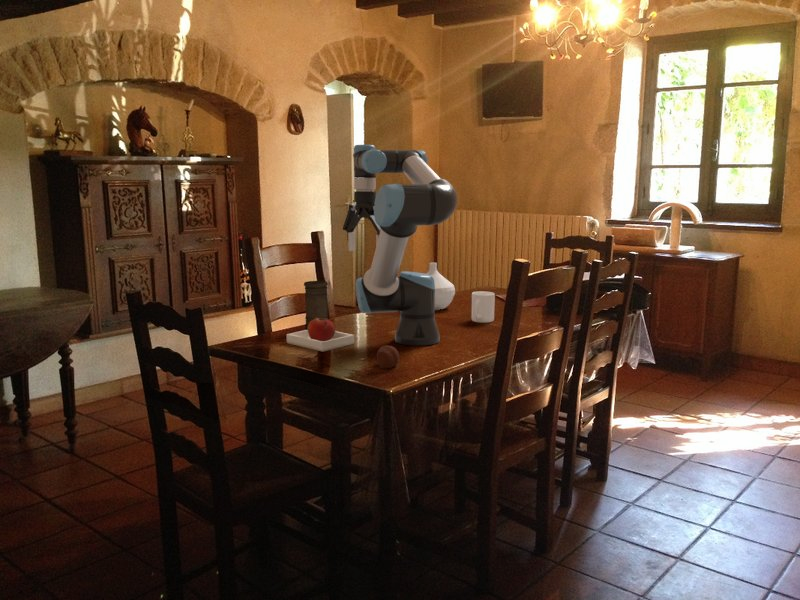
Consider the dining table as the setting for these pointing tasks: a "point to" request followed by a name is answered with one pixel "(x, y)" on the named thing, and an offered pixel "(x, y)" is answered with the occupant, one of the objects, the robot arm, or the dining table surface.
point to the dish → (305, 341)
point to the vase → (441, 288)
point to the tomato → (321, 329)
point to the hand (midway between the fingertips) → (365, 252)
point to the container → (315, 300)
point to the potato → (387, 357)
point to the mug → (483, 306)
